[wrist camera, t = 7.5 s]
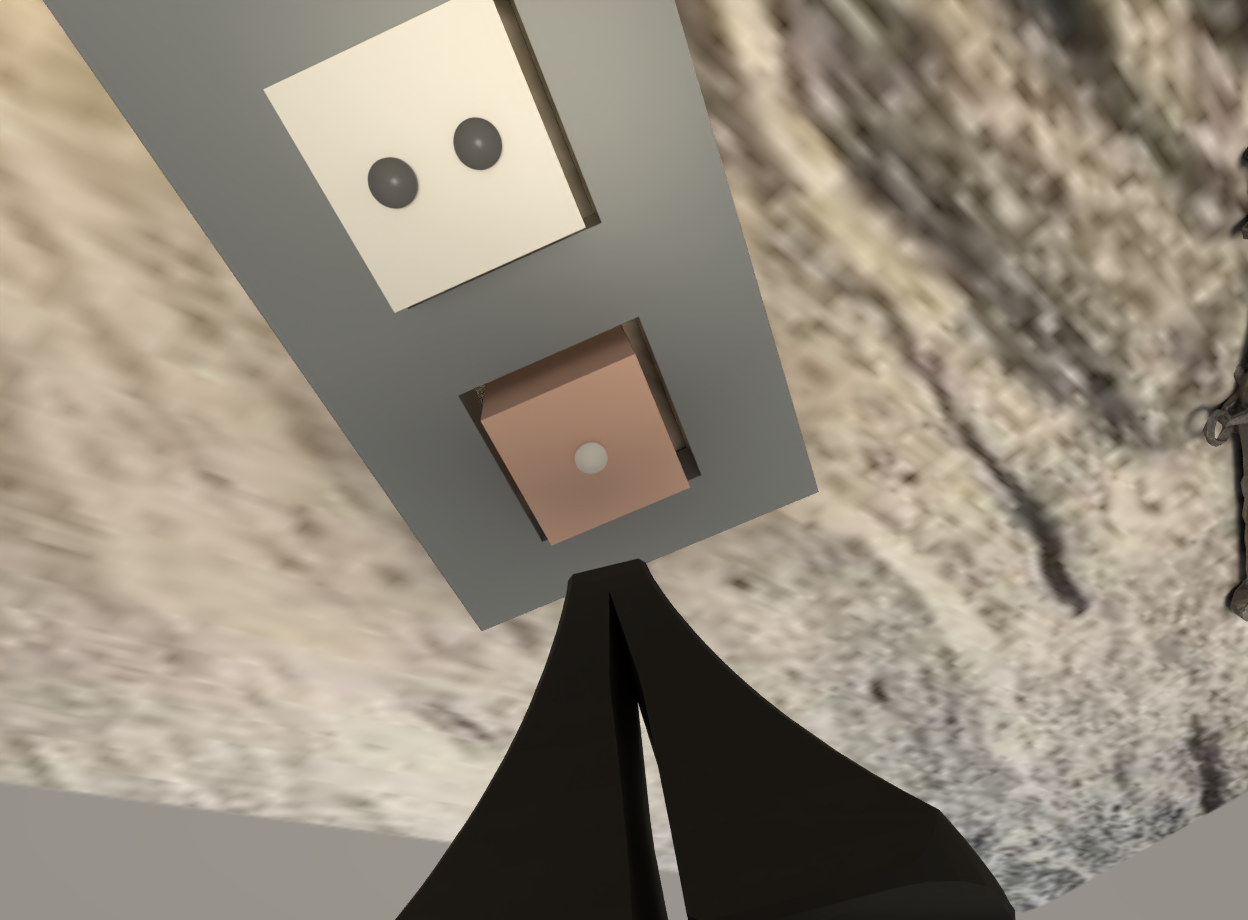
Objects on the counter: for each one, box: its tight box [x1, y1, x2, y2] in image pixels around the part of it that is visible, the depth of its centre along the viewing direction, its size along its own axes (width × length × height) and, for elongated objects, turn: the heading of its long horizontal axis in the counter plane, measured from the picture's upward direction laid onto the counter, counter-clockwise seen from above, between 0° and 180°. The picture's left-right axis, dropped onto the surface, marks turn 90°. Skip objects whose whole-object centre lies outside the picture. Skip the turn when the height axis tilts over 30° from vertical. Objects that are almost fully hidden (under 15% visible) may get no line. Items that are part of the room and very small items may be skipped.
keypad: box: [43, 0, 818, 631], centre depth 16 cm, size 12×26×2 cm, turn 22°
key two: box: [263, 0, 586, 313], centre depth 14 cm, size 4×4×3 cm
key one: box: [481, 325, 690, 546], centre depth 19 cm, size 4×4×3 cm
